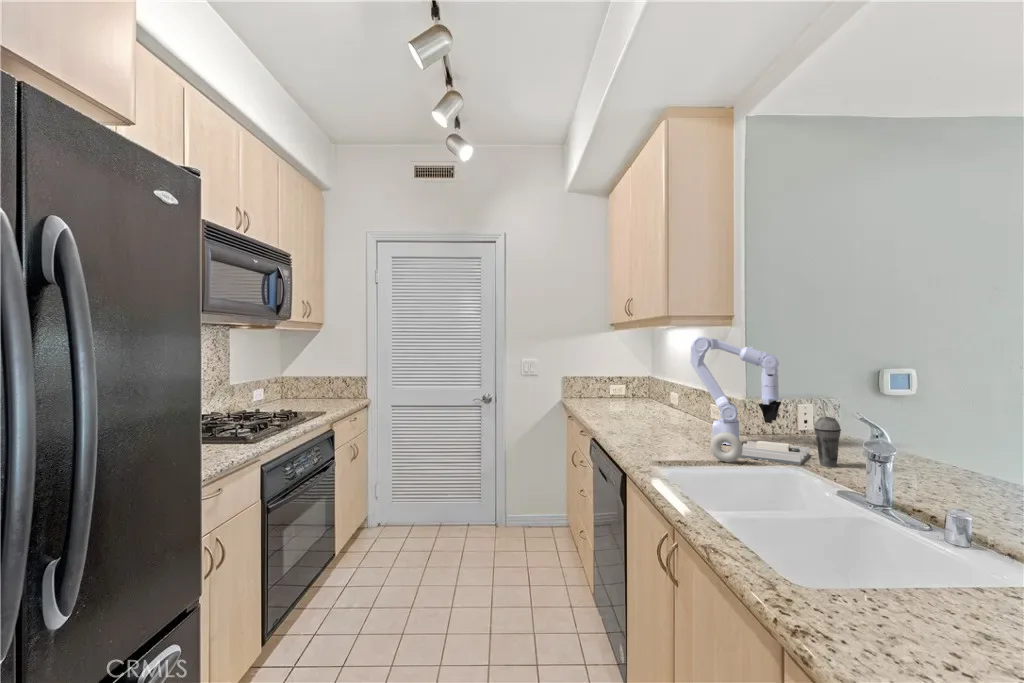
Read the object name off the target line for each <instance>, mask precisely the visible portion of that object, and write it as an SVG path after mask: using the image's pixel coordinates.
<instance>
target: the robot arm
mask: <svg viewBox="0 0 1024 683" xmlns="http://www.w3.org/2000/svg"><path fill="white" fill-rule="evenodd" d="M709 349H710V350H711V351H713V350H720V351H724V352H727V353H731V354H733V355H736V356H739V358H740V360H741V361H743V362H745V363H749V364H751V365H753V366H757V367H759V366H760V367H761V375H760V376H761V378H760V379H761V383H760V384H761V396H760V398H761V401H762V403H761V402H760V403H758V407H759V408H760V410H761V412H762V415H763V416H762V417H763V420H764V423H765V424H772V423H773V421H777V417H778V412H779V410H780V407H781V405H782V402H781V401H782V400H783V397H779V396H780V395H779V373H778V371H779V370H778V367H779V365H780V362H779V360H778V358H777V356H775V355H774V354H773V355H772V354H770V353H768V352H767V351H765V350H764V351H761V350H759V349H755V347H754V346H745V347H743V348H742V347H738V346H736V345H734V344H732V343H729V342H726V341H723V340H721V339H718V338H717V339H716V338H710V337H705V336H700V335H699V336H697V337H695V338H694V340H693V341H692V343H691V346H690V365H691V367H692V368H693V370H694V371H695V373H696V374H697V376H698V377H699V379H700V381H701V382H702V384H703V385H704V386H705V388H706V390H707V391H708V393H709V394H710V396H711V398H712V399H713V401H714V402H715V405H716V406H717V408H718V410H719V416H720V418H719V419H718V420H717V419H715V420H713V422H712V429H711V430H712V438H713V437H714V436H715V435H717V434H719V433H722V432H727V433H731V434H733V435H735V436H736V437H737V438H738V439H739V440H740V419H738V415H739V411H738V407H737V406H736V405H735V404H734V403H732V402H731V401H730V400H729V398H728V397H727V396H726V394H725V393H724V391H723V390H722V388H721V387H720V385H719V384H718V382H717V380H716V379H715V377H714V376H713V375H712V373H711V371H710V369H709V368H708V367H707V365H706V363H705V362H704V361H705V356H706V354H707V352H708V351H709ZM740 442H741V443H742V444H744V443H743V441H742V440H740ZM723 444H726V445H727V446H731V445H730V444H729V443H727V442H724V443H722V445H723ZM726 445H725V446H726Z"/></svg>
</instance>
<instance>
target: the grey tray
mask: <svg viewBox="0 0 1024 683" xmlns="http://www.w3.org/2000/svg"><path fill="white" fill-rule="evenodd" d="M756 442H757V441H753V440H752V441H750V440H749V441H746V443H742V448H743V450H742V454H741V456H740V457H741V458H740V459H745V458H751V459H750V460H753V459H761V460H768V461H767V462H770V461H774V462H773V463H778V462H780V464H786V465H794V464H795V466H801V465H803V463H804V462H805V461H806V460H807V459H808V458H807V457H808V456H809V457H810V452H811V451H810V447H808V446H802V445H801V446H798V445H791V444H790V448H798V449H800V453H799V452H790V451H781V450H772V449H763V448H756ZM806 458H807V459H806ZM761 460H760V461H761Z"/></svg>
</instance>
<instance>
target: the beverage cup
mask: <svg viewBox="0 0 1024 683" xmlns="http://www.w3.org/2000/svg"><path fill="white" fill-rule="evenodd" d="M821 406H822V407H821V408H822V413H823V416H821V417H820V418H818V419H817V420H816V422H815V424H814V428H813V430H814V434H815V437H816V444H817V454H818V460H819V465H820V466H821V467H826V468H837V467H838V466H837V465H838V459H839V458H838V456H839V446H840V445H839V444H840V443H839V442H840V438H841V432H842V429H841V424H839V422H838V420H836V419H835V418H833V417H830V416H826V411H825V403H824V402H821Z"/></svg>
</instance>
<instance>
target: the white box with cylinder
mask: <svg viewBox="0 0 1024 683" xmlns="http://www.w3.org/2000/svg"><path fill="white" fill-rule="evenodd" d="M755 442H756V448H763V449H772V450H781V451H790V452H799V453H800V449H798V448H790V445H791V444H790V443H785V442H773V441H765V440H757V441H755Z"/></svg>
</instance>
